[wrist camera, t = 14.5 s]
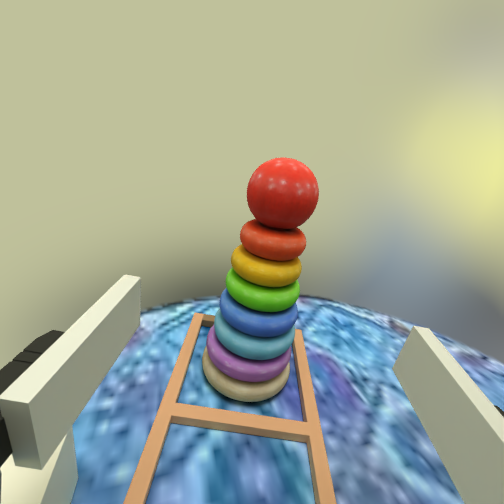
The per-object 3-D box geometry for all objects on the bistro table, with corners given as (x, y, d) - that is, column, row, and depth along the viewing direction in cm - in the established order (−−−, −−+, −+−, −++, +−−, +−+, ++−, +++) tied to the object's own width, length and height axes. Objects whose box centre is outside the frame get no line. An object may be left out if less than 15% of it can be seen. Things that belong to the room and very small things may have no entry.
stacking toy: (303, 394, 24) (378, 176, 17) (216, 419, 21) (262, 160, 13) (264, 334, 31) (305, 157, 23) (192, 345, 27) (215, 143, 20)
